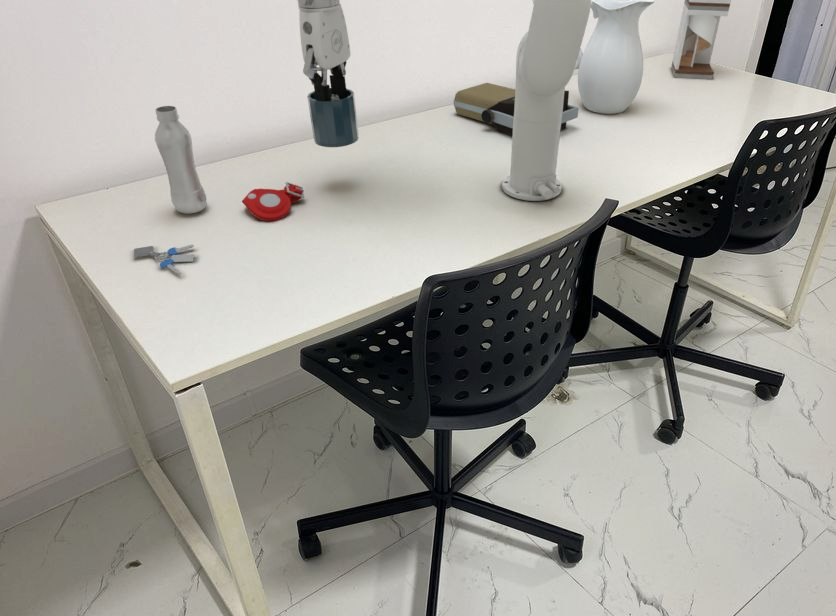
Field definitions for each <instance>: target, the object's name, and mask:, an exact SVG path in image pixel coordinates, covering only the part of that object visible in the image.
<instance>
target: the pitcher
mask: <svg viewBox="0 0 836 616" xmlns="http://www.w3.org/2000/svg"><path fill="white" fill-rule="evenodd" d="M654 3H655V0H620V1H619V0H591V7H590V10H591V11H592V16H593V18H594V19H597V22H596V24H595V28H594V30H593V32H592V34H591V36H590V38H589V39H588V42H587V44H586V46H585V48H584V51H583V50H582V47H580V51H579V55H578V58H577V62H576V65H575V69H574V71H575V70H576V71H577V70H578V72H577V88H578V93H579V96H580V99H581V101H582V103H583V106H584V107H585V109H587V110H588V111H590V112H594V113H598V114H602V115H603V114H605V115H616V114H620V113H622V112H625V111H626V110H627V109H628V108H629V107H630V105H631V104H632V103H633V101H634V100H635V98H636V96H637V95H638V93H639V90H640V87H641V85H642V82H643V81H642V80H643V75H644V51H643V47H642V42H641V35H640V32H639V22H640V17H641V15H642V14H643V12H644V11H645V10H647V8H649V7H650V6H651V5H653V4H654Z"/></svg>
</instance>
